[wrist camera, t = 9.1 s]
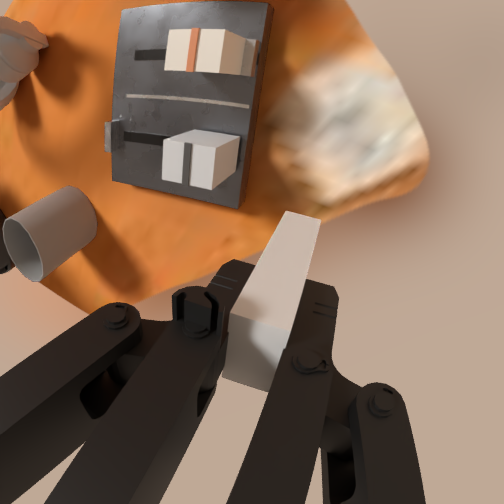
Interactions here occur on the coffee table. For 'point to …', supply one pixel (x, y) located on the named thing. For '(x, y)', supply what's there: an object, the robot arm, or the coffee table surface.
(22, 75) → the headphones
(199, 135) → the block
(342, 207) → the coffee table surface
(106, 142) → the console
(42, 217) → the cup
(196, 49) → the block
